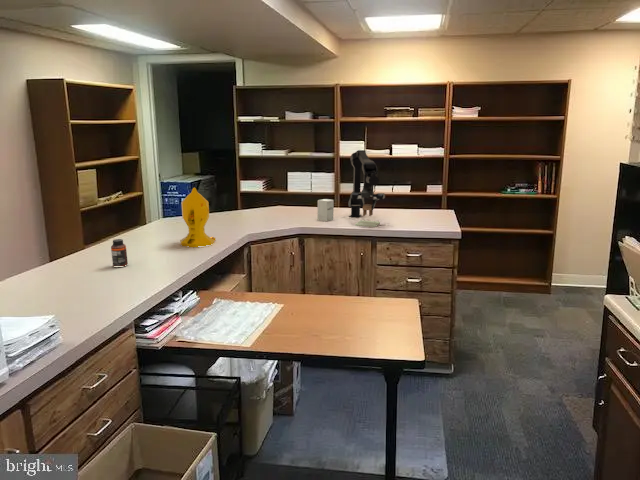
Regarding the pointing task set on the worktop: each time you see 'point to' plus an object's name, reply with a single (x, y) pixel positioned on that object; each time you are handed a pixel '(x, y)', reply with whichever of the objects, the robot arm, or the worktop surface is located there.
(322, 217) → the supplement box
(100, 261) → the worktop surface
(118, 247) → the supplement bottle
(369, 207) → the toy stool
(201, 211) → the yellow pointed sculpture
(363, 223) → the sage mat
